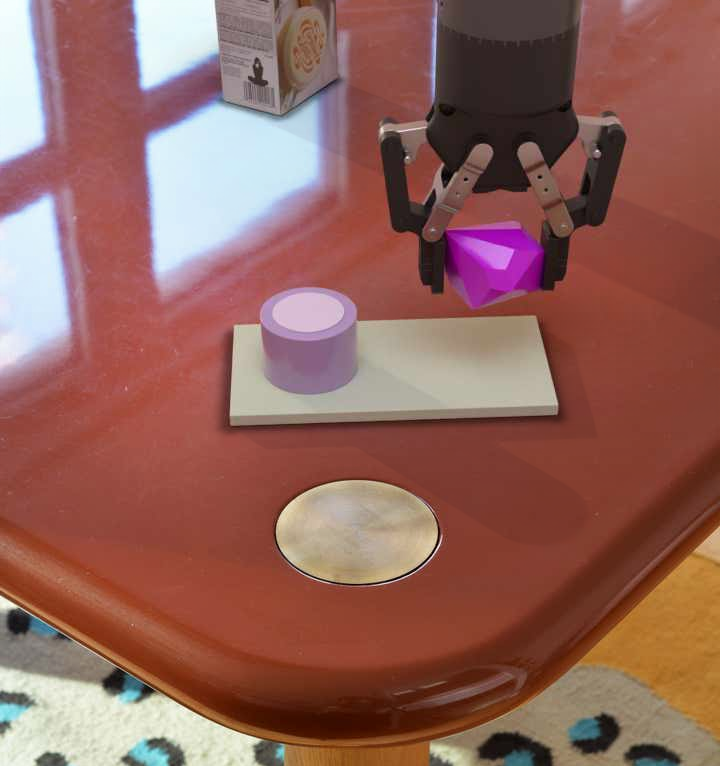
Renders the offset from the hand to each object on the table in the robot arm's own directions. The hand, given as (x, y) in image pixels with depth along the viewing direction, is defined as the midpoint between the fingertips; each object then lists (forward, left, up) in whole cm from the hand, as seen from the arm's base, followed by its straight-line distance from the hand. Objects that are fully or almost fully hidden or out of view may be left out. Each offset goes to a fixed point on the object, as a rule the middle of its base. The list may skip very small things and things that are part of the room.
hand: (491, 285), depth 82 cm
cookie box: (+13, -43, -7) cm, 46 cm away
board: (+6, 0, -6) cm, 9 cm away
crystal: (0, 0, -1) cm, 1 cm away
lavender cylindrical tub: (+11, 0, -6) cm, 12 cm away
